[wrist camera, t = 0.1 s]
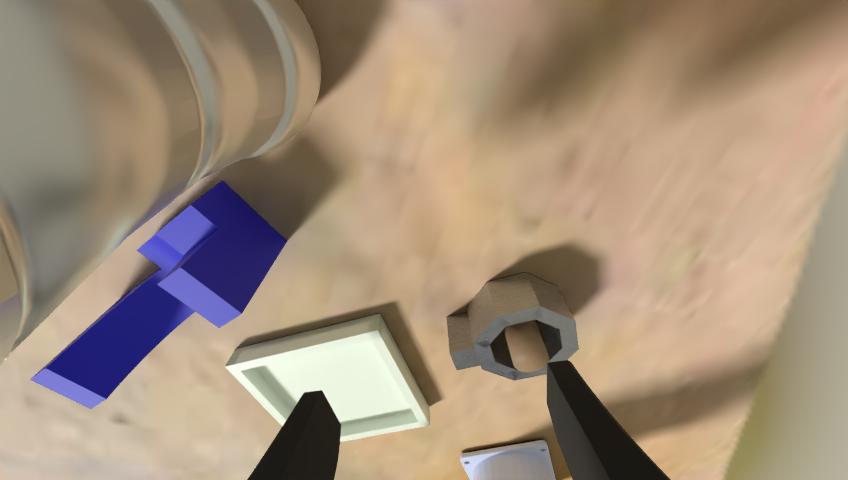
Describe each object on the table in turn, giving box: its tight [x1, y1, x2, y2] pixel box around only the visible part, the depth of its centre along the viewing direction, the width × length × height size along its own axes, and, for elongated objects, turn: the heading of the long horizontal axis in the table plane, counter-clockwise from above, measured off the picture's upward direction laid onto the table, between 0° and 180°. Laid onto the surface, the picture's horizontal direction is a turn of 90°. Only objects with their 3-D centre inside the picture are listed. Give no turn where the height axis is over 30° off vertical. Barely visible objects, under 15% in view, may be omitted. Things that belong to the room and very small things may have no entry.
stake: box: [504, 320, 549, 372], centre depth 21 cm, size 2×2×4 cm
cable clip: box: [30, 180, 287, 409], centre depth 18 cm, size 12×4×6 cm, turn 124°
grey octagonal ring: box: [447, 272, 579, 380], centre depth 21 cm, size 6×7×3 cm
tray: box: [225, 313, 430, 442], centre depth 25 cm, size 11×11×2 cm
